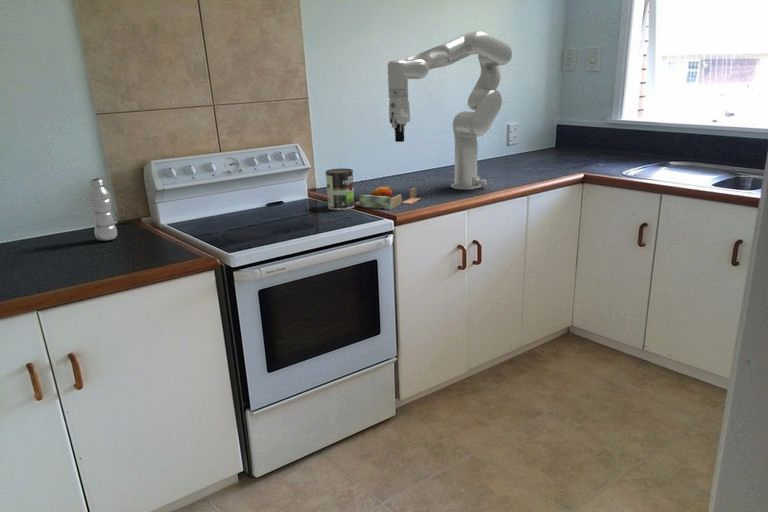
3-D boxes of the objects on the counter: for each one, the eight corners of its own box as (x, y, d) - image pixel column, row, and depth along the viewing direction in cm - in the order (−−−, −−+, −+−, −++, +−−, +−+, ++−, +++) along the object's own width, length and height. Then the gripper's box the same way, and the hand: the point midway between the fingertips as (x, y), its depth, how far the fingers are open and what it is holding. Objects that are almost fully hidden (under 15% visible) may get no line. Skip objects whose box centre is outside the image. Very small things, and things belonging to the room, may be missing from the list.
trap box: (416, 196, 239) (416, 185, 237) (390, 209, 218) (389, 197, 217) (388, 193, 244) (388, 183, 243) (359, 206, 224) (359, 195, 223)
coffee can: (359, 205, 226) (358, 169, 222) (344, 211, 218) (342, 173, 214) (338, 203, 232) (336, 167, 227) (322, 208, 223) (319, 171, 219)
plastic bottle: (100, 237, 195) (89, 178, 188) (121, 236, 195) (110, 177, 189) (93, 243, 188) (80, 181, 182) (114, 242, 189) (103, 180, 183)
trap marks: (420, 199, 233) (420, 198, 232) (403, 208, 219) (403, 207, 219) (374, 195, 242) (374, 194, 242) (354, 204, 229) (354, 203, 229)
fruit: (378, 205, 220) (373, 185, 221) (372, 211, 227) (367, 192, 228) (398, 202, 223) (393, 182, 224) (391, 209, 230) (386, 190, 231)
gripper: (398, 95, 220) (400, 144, 225) (415, 92, 232) (416, 139, 238) (380, 95, 223) (382, 143, 229) (398, 92, 236) (399, 138, 241)
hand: (399, 141), depth 233 cm, fingers closed
